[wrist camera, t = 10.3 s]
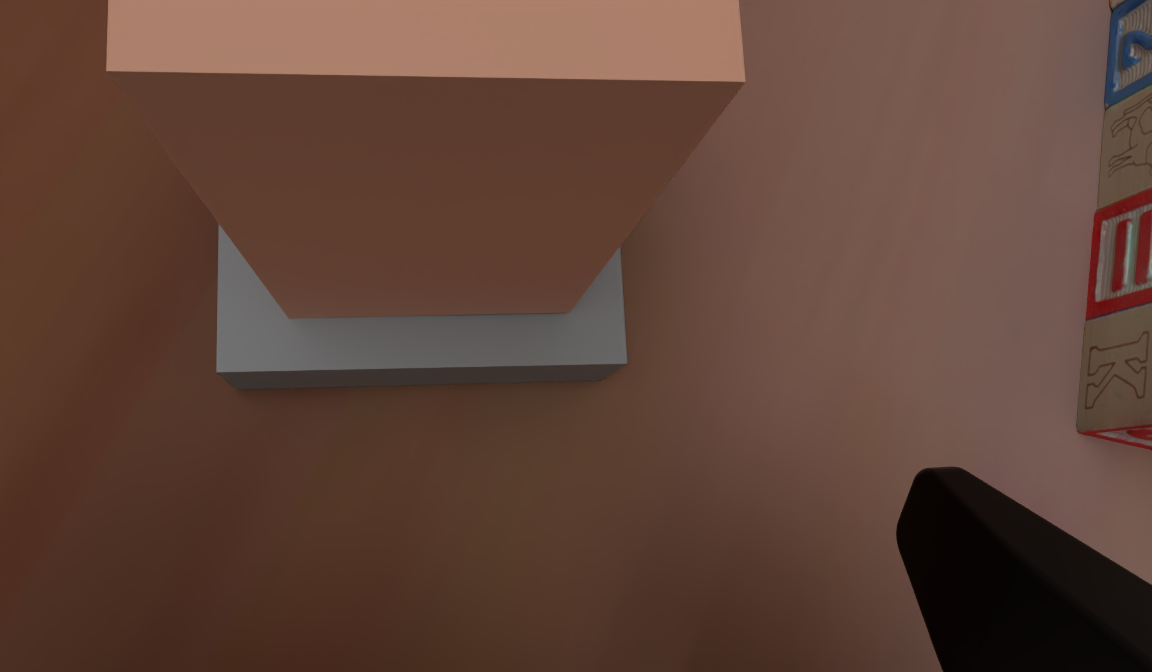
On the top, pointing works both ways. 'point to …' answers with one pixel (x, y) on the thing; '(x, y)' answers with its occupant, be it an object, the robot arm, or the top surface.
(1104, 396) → the stack of blocks
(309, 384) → the base brick
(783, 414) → the top surface
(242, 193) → the tall brick
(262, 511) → the top surface
